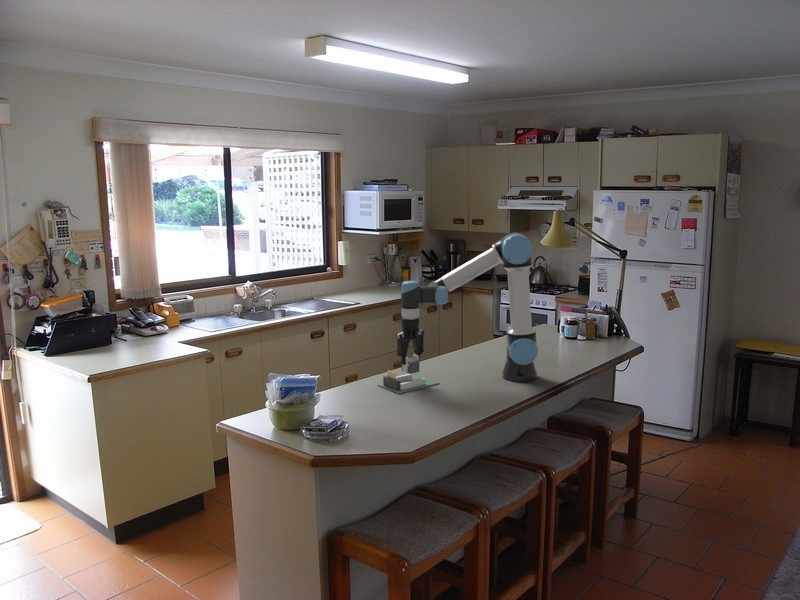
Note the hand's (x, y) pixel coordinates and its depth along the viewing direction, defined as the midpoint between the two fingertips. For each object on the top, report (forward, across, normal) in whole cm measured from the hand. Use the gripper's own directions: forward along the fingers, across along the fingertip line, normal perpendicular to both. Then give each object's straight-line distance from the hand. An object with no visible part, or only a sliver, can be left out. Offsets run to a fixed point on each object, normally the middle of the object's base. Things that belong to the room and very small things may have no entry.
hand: (410, 370), depth 287 cm
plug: (0, 0, 0) cm, 1 cm away
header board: (+6, +1, 0) cm, 6 cm away
